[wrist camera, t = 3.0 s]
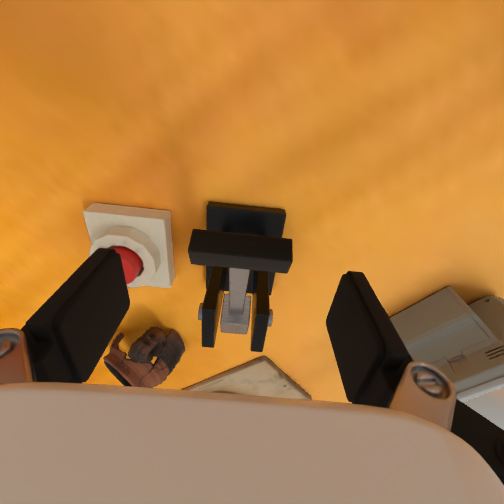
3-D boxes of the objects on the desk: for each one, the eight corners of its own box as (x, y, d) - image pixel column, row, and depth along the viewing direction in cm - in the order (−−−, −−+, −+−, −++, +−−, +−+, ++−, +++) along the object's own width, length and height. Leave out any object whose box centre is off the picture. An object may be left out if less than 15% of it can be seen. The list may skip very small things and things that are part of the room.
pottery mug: (187, 361, 43) (147, 408, 38) (144, 326, 45) (101, 366, 39) (194, 331, 34) (144, 387, 29) (141, 289, 36) (84, 334, 31)
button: (103, 244, 26) (93, 254, 25) (139, 247, 26) (132, 257, 25) (110, 272, 28) (102, 283, 27) (144, 276, 28) (137, 286, 27)
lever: (194, 219, 13) (185, 260, 12) (292, 229, 13) (292, 271, 12) (208, 304, 24) (204, 331, 22) (264, 309, 24) (263, 336, 22)
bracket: (208, 201, 27) (178, 270, 17) (285, 209, 27) (299, 282, 17) (207, 283, 33) (184, 369, 23) (270, 289, 33) (274, 376, 23)
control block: (93, 202, 27) (70, 219, 24) (170, 210, 28) (158, 228, 24) (110, 270, 32) (93, 292, 29) (175, 276, 33) (165, 299, 29)
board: (209, 432, 56) (206, 450, 53) (154, 401, 49) (148, 419, 46) (312, 397, 47) (316, 417, 44) (263, 353, 40) (263, 373, 38)
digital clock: (381, 354, 40) (416, 433, 31) (358, 320, 36) (390, 399, 27) (503, 313, 34) (588, 394, 26) (491, 267, 30) (587, 344, 22)
